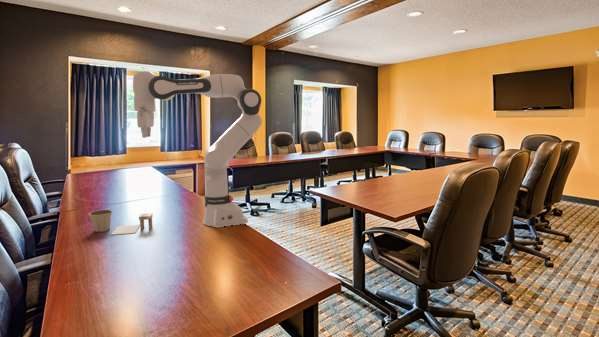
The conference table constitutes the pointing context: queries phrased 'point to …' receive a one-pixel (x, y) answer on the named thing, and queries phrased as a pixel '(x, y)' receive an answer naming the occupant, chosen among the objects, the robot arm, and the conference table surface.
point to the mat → (125, 229)
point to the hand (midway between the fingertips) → (146, 137)
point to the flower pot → (101, 220)
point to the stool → (145, 217)
